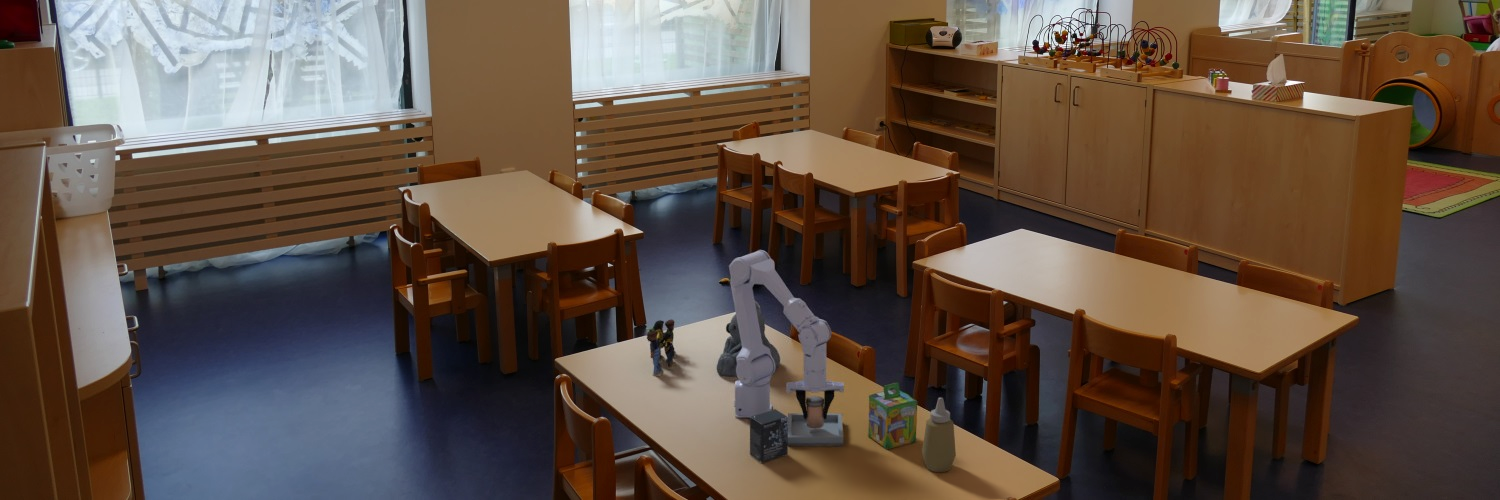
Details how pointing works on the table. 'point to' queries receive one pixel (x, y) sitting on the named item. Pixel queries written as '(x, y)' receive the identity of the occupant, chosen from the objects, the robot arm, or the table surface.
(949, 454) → the squeeze bottle
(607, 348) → the table surface
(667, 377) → the table surface
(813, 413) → the shaker
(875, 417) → the chalk box
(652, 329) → the doll family
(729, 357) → the koala plush
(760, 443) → the box
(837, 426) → the tray
